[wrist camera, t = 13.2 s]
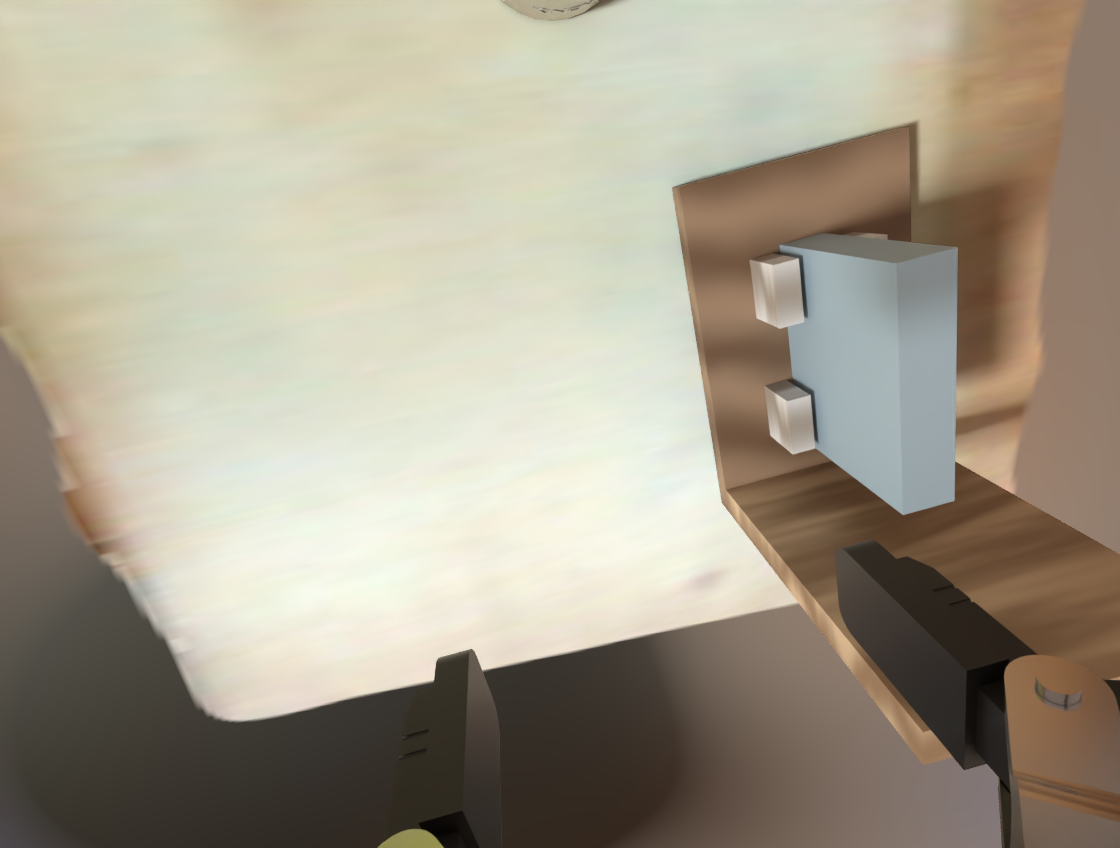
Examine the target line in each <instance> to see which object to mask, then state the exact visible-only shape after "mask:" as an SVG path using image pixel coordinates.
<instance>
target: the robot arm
mask: <svg viewBox="0 0 1120 848" xmlns="http://www.w3.org/2000/svg"><path fill="white" fill-rule="evenodd" d="M599 1H600V0H502V2H504V3H505V4H507V5H508V6H510V7H511V8H513V9H514V10H516V11H517V12H519V13H521V14H524V15H526V16H529V17H532V18H534V19H542V20H550V21H553V20H561V19H568V18H571V17H574V16H576V15H579V14H581V13H584V12H585V11H587V10H588V9H589V8H591V7H592V6H594V5H595V4H597V3H598V2H599ZM835 563H836V576H837V589H838V602H839V609H840V613H841V616H842V618H843V621H844V623H845V625H846V627H847V629H848V630H849V632H850V633H851V635H852V636H853V637H854V638H855V640H856V641H857V642H858V643H859V644H860V646H861V647H862V648H863V649H864V650H865V652H866V653H867V654H868V655H869V656H870V658H871V659H872V660H873V661H874V662H875V664H876V665H877V666H878V667H879V668H880V670H881V671H882V672H883V673H884V674H885V676H886V677H887V678H888V679H889V680H890V682H891V683H892V684H893V685H894V686H895V688H896V689H897V690H898V691H899V692H900V694H901V695H902V696H903V697H904V699H905V700H906V701H907V702H908V703H909V705H910V706H911V707H912V708H913V709H914V711H915V712H916V713H917V714H918V715H919V717H920V718H921V719H922V720H923V721H924V723H925V724H926V725H927V726H928V727H929V729H930V730H931V731H932V732H933V733H934V735H935V736H936V737H937V738H938V739H939V741H940V742H941V743H942V744H943V745H944V747H945V748H946V749H947V750H948V751H949V753H950V754H951V755H952V756H953V757H954V759H955V760H956V761H957V762H958V763H959V765H960V766H961V767H962V768H963V769H964V770H966V769H970V768H973V767H977V766H980V765H984V764H988V765H989V767H990V768H991V769H992V770H993V771H994V772H995V773H996V775H997V776H998V798H999V799H998V800H999V814H1000V828H1001V829H1000V830H1001V844H1002V848H1120V680H1105V679H1101V678H1100V677H1099V676H1098V675H1097V674H1095V673H1094V672H1092V671H1090V670H1089V669H1087V668H1085V667H1083V666H1081V665H1079V664H1077V663H1074V662H1072V661H1069V660H1066V659H1063V658H1059V657H1054V656H1048V655H1038V654H1037V653H1035V652H1034V651H1033V650H1032V649H1031V648H1029V647H1028V646H1027V645H1026V644H1025V643H1023V642H1022V641H1021V640H1020V639H1019V638H1017V637H1016V636H1015V635H1014V634H1013V633H1011V632H1010V631H1009V630H1008V629H1007V628H1005V627H1004V626H1003V625H1002V624H1001V623H999V622H998V621H997V620H996V619H995V618H993V617H992V616H991V615H990V614H989V613H987V612H986V611H985V610H984V609H982V608H981V607H980V606H979V605H978V604H976V603H975V602H971V600H970V598H969V597H968V596H967V595H966V594H964V593H963V592H962V591H961V590H960V589H958V588H955V587H954V584H952V583H951V582H950V581H949V580H948V579H946V578H945V577H944V576H943V575H942V574H940V573H939V572H938V571H937V570H936V569H934V568H933V567H930V566H928V565H926V564H924V563H921V562H919V561H917V560H915V559H912V558H910V557H908V556H906V557H902V558H898V559H896V558H895V557H894V556H893V555H892V554H891V553H889V552H888V551H887V550H886V549H885V548H884V547H883V546H881V545H880V544H879V543H878V542H876V541H875V540H868V541H865V542H861V543H857V544H854V545H850V546H846V547H843V548H839V549H837V550H836V553H835ZM499 745H500V743H499V724H498V717H497V712H496V708H495V704H494V701H493V698H492V695H491V693H490V690H489V687H488V685H487V682H486V680H485V677H484V674H483V672H482V669H481V667H480V664H479V661H478V659H477V656H476V654H475V652H474V651H473V650H472V649H470V650H466V651H462V652H459V653H455V654H452V655H448V656H444V657H441V658H438V660H437V662H436V669H435V678H434V686H432V687H429V688H426V689H421V690H418V691H417V692H416V694H415V696H414V698H413V700H412V701H411V703H410V705H409V707H408V708H407V710H406V712H405V714H404V720H403V726H402V733H401V742H400V745H399V751H398V761H397V763H396V770H395V776H394V782H393V788H392V794H391V800H390V807H389V813H388V819H387V825H386V831H385V837H384V841H383V843H382V844H381V845H380V846H379V847H378V848H502V838H501V790H500V746H499Z"/></svg>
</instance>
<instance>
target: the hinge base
mask: <svg viewBox="0 0 1120 848" xmlns="http://www.w3.org/2000/svg"><path fill="white" fill-rule="evenodd" d="M672 190H673V196H674V202H675V209H676V215H677V221H678V227H679V234H680V240H681V246H682V253H683V259H684V265H685V272H686V278H687V284H688V291H689V297H690V303H691V310H692V316H693V322H694V329H695V335H696V341H697V347H698V354H699V360H700V366H701V373H702V379H703V385H704V392H705V398H706V404H707V411H708V417H709V423H710V430H711V436H712V442H713V449H714V455H715V461H716V467H717V474H718V480H719V486H720V493H721V499H722V503H723V505H724V506H725V507H726V509H727V510H728V511H729V512H730V514H731V515H732V516H733V518H734V519H735V520H736V522H737V523H738V524H739V525H740V527H741V528H742V529H743V531H744V532H745V533H746V535H747V536H748V537H749V539H750V540H751V541H752V542H753V544H754V545H755V546H756V548H757V549H758V550H759V552H760V553H761V554H762V555H763V557H764V558H765V559H766V561H767V562H768V563H769V565H770V566H771V567H772V568H773V570H774V571H775V572H776V574H777V575H778V576H779V578H780V579H781V580H782V582H783V583H784V584H785V585H786V587H787V588H788V589H789V591H790V592H791V593H792V595H793V596H794V597H795V598H796V600H797V601H798V602H799V604H800V605H801V606H802V608H803V609H804V610H805V611H806V613H807V614H808V615H809V617H810V618H811V619H812V620H813V622H814V623H815V625H816V626H817V627H818V628H819V630H820V631H821V632H822V634H823V635H824V636H825V638H826V639H827V640H828V641H829V643H830V644H831V645H832V647H833V648H834V649H835V651H836V652H837V653H838V654H839V656H840V657H841V658H842V660H843V661H844V662H845V664H846V665H847V666H848V667H849V669H850V670H851V671H852V673H853V674H854V675H855V677H856V678H857V679H858V681H859V682H860V683H861V684H862V686H863V687H864V688H865V690H866V691H867V692H868V693H869V695H870V696H871V697H872V699H873V700H874V701H875V703H876V704H877V705H878V707H879V708H880V709H881V710H882V712H883V713H884V714H885V716H886V717H887V718H888V720H889V721H890V722H891V724H892V725H893V726H894V727H895V729H896V730H897V731H898V733H899V734H900V735H901V737H902V738H903V739H904V740H905V742H906V743H907V744H908V746H909V747H910V748H911V749H912V751H913V752H914V754H915V755H916V756H917V757H918V759H919V760H920V761H921V763H922V764H923V765H926V764H930V763H933V762H937V761H940V760H944V759H947V758H950V757H953V756H952V755H951V754H950V753H949V751H948V750H947V749H946V748H945V747H944V745H943V744H942V743H941V742H940V741H939V739H938V738H937V737H936V736H935V735H934V733H933V732H932V731H931V730H930V729H929V727H928V726H927V725H926V724H925V723H924V721H923V720H922V719H921V718H920V717H919V715H918V714H917V713H916V712H915V711H914V709H913V708H912V707H911V706H910V705H909V703H908V702H907V701H906V700H905V699H904V697H903V696H902V695H901V694H900V692H899V691H898V690H897V689H896V688H895V686H894V685H893V684H892V683H891V682H890V680H889V679H888V678H887V677H886V676H885V674H884V673H883V672H882V671H881V670H880V668H879V667H878V666H877V665H876V664H875V662H874V661H873V660H872V659H871V658H870V656H869V655H868V654H867V653H866V652H865V650H864V649H863V648H862V647H861V646H860V644H859V643H858V642H857V641H856V640H855V638H854V637H853V636H852V635H851V633H850V632H849V630H848V629H847V627H846V625H845V623H844V621H843V618H842V616H841V613H840V609H839V602H838V589H837V576H836V563H835V553H836V550H837V549H839V548H843V547H846V546H850V545H854V544H857V543H861V542H865V541H868V540H875V541H876V542H878V543H879V544H880V545H881V546H883V547H884V548H885V549H886V550H887V551H888V552H889V553H891V554H892V555H893V556H894V557H895V558H896V559H898V558H902V557H906V556H908V557H910V558H912V559H915V560H917V561H919V562H921V563H924V564H926V565H928V566H930V567H933V568H934V569H936V570H937V571H938V572H939V573H940V574H942V575H943V576H944V577H945V578H946V579H948V580H949V581H950V582H951V583H952V584H954V587H955V588H958V589H960V590H961V591H962V592H963V593H964V594H966V595H967V596H968V597H969V598H970V600H971V602H975V603H976V604H978V605H979V606H980V607H981V608H982V609H984V610H985V611H986V612H987V613H989V614H990V615H991V616H992V617H993V618H995V619H996V620H997V621H998V622H999V623H1001V624H1002V625H1003V626H1004V627H1005V628H1007V629H1008V630H1009V631H1010V632H1011V633H1013V634H1014V635H1015V636H1016V637H1017V638H1019V639H1020V640H1021V641H1022V642H1023V643H1025V644H1026V645H1027V646H1028V647H1029V648H1031V649H1032V650H1033V651H1034V652H1035V653H1037V654H1038V655H1048V656H1054V657H1059V658H1063V659H1066V660H1069V661H1072V662H1074V663H1077V664H1079V665H1081V666H1083V667H1085V668H1087V669H1089V670H1090V671H1092V672H1094V673H1095V674H1097V675H1098V676H1099V677H1100V678H1101V679H1105V680H1120V554H1118V553H1116V552H1115V551H1113V550H1111V549H1109V548H1107V547H1105V546H1104V545H1102V544H1100V543H1098V542H1097V541H1095V540H1093V539H1091V538H1090V537H1088V536H1086V535H1084V534H1083V533H1081V532H1079V531H1077V530H1075V529H1074V528H1072V527H1070V526H1068V525H1067V524H1065V523H1063V522H1061V521H1060V520H1058V519H1056V518H1054V517H1053V516H1051V515H1049V514H1047V513H1045V512H1044V511H1042V510H1040V509H1038V508H1036V507H1034V506H1033V505H1031V504H1029V503H1028V502H1026V501H1024V500H1022V499H1021V498H1019V497H1017V496H1015V495H1014V494H1012V493H1010V492H1008V491H1006V490H1005V489H1003V488H1001V487H999V486H998V485H996V484H994V483H992V482H990V481H989V480H987V479H985V478H983V477H982V476H980V475H978V474H976V473H975V472H973V471H971V470H969V469H967V468H966V467H964V466H962V465H960V464H959V463H957V462H955V501H952V502H949V503H945V504H941V505H938V506H934V507H931V508H927V509H923V510H920V511H916V512H913V513H909V514H905V515H902V514H901V513H900V512H898V511H897V510H896V509H894V508H893V507H892V506H891V505H889V504H888V503H887V502H885V501H884V500H883V499H881V498H880V497H879V496H877V495H876V494H875V493H874V492H872V491H871V490H870V489H868V488H867V487H866V486H864V485H863V484H862V483H860V482H859V481H858V480H856V479H855V478H854V477H853V476H851V475H850V474H849V473H847V472H846V471H845V470H843V469H842V468H841V467H839V466H838V465H837V464H836V463H834V462H833V461H832V460H830V459H829V458H828V457H826V456H825V455H824V454H822V453H821V452H820V451H819V450H817V449H816V448H815V441H814V429H813V418H812V406H811V395H810V394H808V393H806V392H805V391H803V390H802V389H800V388H798V387H797V386H795V385H793V377H792V367H791V357H790V347H789V336H788V326H792V325H796V324H799V323H803V322H804V313H803V301H802V290H801V278H800V267H799V258H794V257H789V256H784V255H780V245H781V244H784V243H788V242H792V241H796V240H799V239H803V238H807V237H811V236H814V235H818V234H822V233H827V234H837V235H846V236H856V237H866V238H875V239H885V240H894V241H904V242H911V209H910V145H909V127H903V128H897V129H892V130H889V131H885V132H881V133H877V134H873V135H870V136H866V137H862V138H858V139H854V140H851V141H847V142H843V143H839V144H836V145H832V146H828V147H824V148H820V149H817V150H813V151H809V152H805V153H801V154H798V155H794V156H790V157H786V158H783V159H779V160H775V161H771V162H767V163H764V164H760V165H756V166H752V167H748V168H745V169H741V170H737V171H733V172H730V173H726V174H722V175H718V176H714V177H711V178H707V179H703V180H699V181H695V182H692V183H688V184H684V185H680V186H676V187H673V188H672Z"/></svg>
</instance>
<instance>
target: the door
mask: <svg viewBox="0 0 1120 848" xmlns="http://www.w3.org/2000/svg"><path fill="white" fill-rule="evenodd" d="M780 255H784V256H789V257H794V258H799V267H800V278H801V290H802V301H803V313H804V322H803V323H799V324H796V325H792V326H788V336H789V347H790V357H791V367H792V377H793V385H795V386H797V387H798V388H800V389H802V390H803V391H805V392H806V393H808V394H810V395H811V406H812V418H813V429H814V441H815V448H816V449H817V450H819V451H820V452H821V453H822V454H824V455H825V456H826V457H828V458H829V459H830V460H832V461H833V462H834V463H836V464H837V465H838V466H839V467H841V468H842V469H843V470H845V471H846V472H847V473H849V474H850V475H851V476H853V477H854V478H855V479H856V480H858V481H859V482H860V483H862V484H863V485H864V486H866V487H867V488H868V489H870V490H871V491H872V492H874V493H875V494H876V495H877V496H879V497H880V498H881V499H883V500H884V501H885V502H887V503H888V504H889V505H891V506H892V507H893V508H894V509H896V510H897V511H898V512H900V513H901V514H902V515H905V514H909V513H913V512H916V511H920V510H923V509H927V508H931V507H934V506H938V505H941V504H945V503H949V502H952V501H955V429H956V353H957V276H958V247H952V246H942V245H933V244H923V243H913V242H904V241H894V240H885V239H875V238H866V237H856V236H846V235H837V234H827V233H822V234H818V235H814V236H811V237H807V238H803V239H799V240H796V241H792V242H788V243H784V244H781V245H780Z"/></svg>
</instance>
